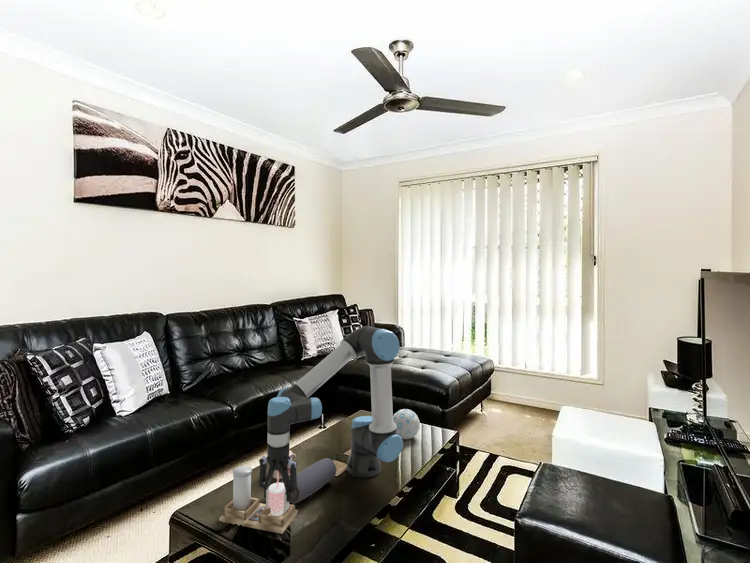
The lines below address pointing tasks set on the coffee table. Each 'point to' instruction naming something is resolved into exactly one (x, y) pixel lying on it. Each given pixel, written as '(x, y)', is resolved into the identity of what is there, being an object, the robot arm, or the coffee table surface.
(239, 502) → the grey tube
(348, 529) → the coffee table surface
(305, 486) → the bluetooth speaker
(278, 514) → the beverage cup
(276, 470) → the teacup with lid
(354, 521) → the coffee table surface
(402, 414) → the puzzle ball
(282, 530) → the rack
